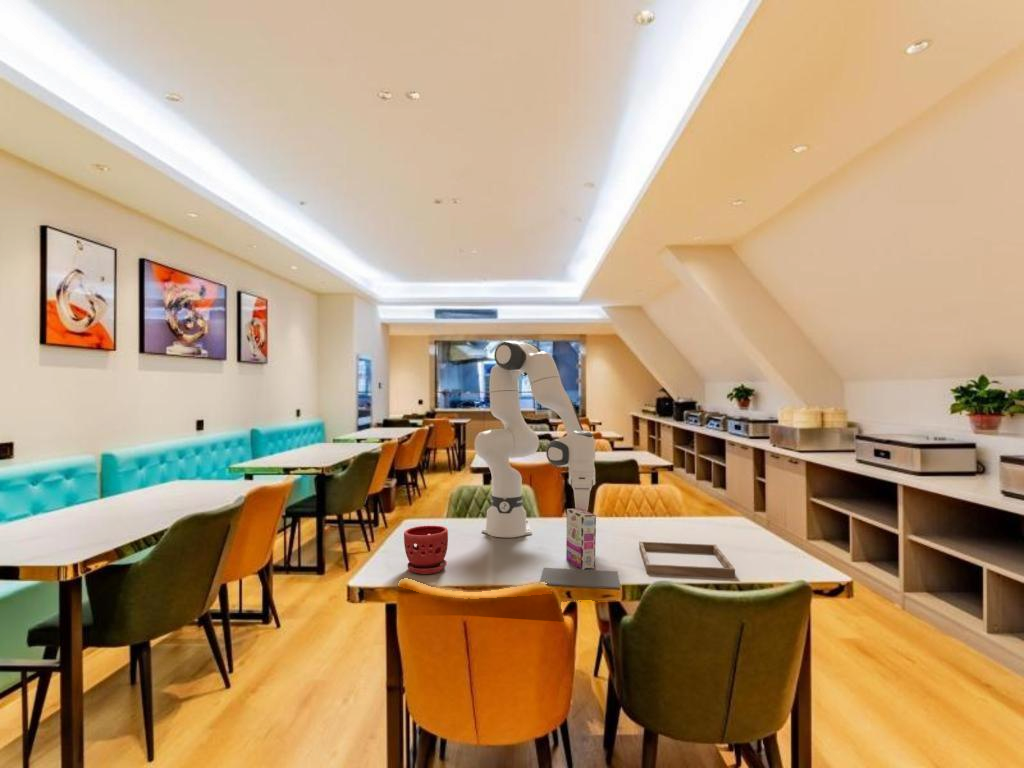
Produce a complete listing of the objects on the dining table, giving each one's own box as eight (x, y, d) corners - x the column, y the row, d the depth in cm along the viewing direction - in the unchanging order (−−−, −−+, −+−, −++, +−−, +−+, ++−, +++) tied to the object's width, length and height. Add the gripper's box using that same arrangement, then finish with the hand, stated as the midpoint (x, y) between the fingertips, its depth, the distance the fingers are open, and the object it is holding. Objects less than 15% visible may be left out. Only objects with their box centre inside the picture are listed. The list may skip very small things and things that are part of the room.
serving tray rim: (639, 548, 189) (639, 541, 189) (715, 552, 186) (715, 544, 186) (646, 573, 165) (646, 565, 165) (735, 578, 161) (735, 569, 161)
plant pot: (449, 562, 174) (449, 524, 174) (445, 576, 161) (445, 535, 161) (407, 562, 174) (407, 524, 174) (400, 576, 161) (400, 535, 161)
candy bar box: (596, 569, 168) (596, 514, 168) (581, 570, 167) (582, 516, 167) (579, 558, 179) (579, 507, 179) (565, 559, 177) (565, 508, 177)
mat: (543, 569, 168) (543, 567, 168) (617, 573, 165) (617, 571, 165) (539, 584, 155) (539, 582, 155) (620, 589, 152) (620, 587, 152)
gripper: (573, 473, 198) (573, 512, 198) (571, 483, 178) (571, 527, 178) (591, 474, 197) (591, 513, 197) (591, 484, 177) (591, 527, 177)
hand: (581, 519), depth 187 cm, fingers closed
